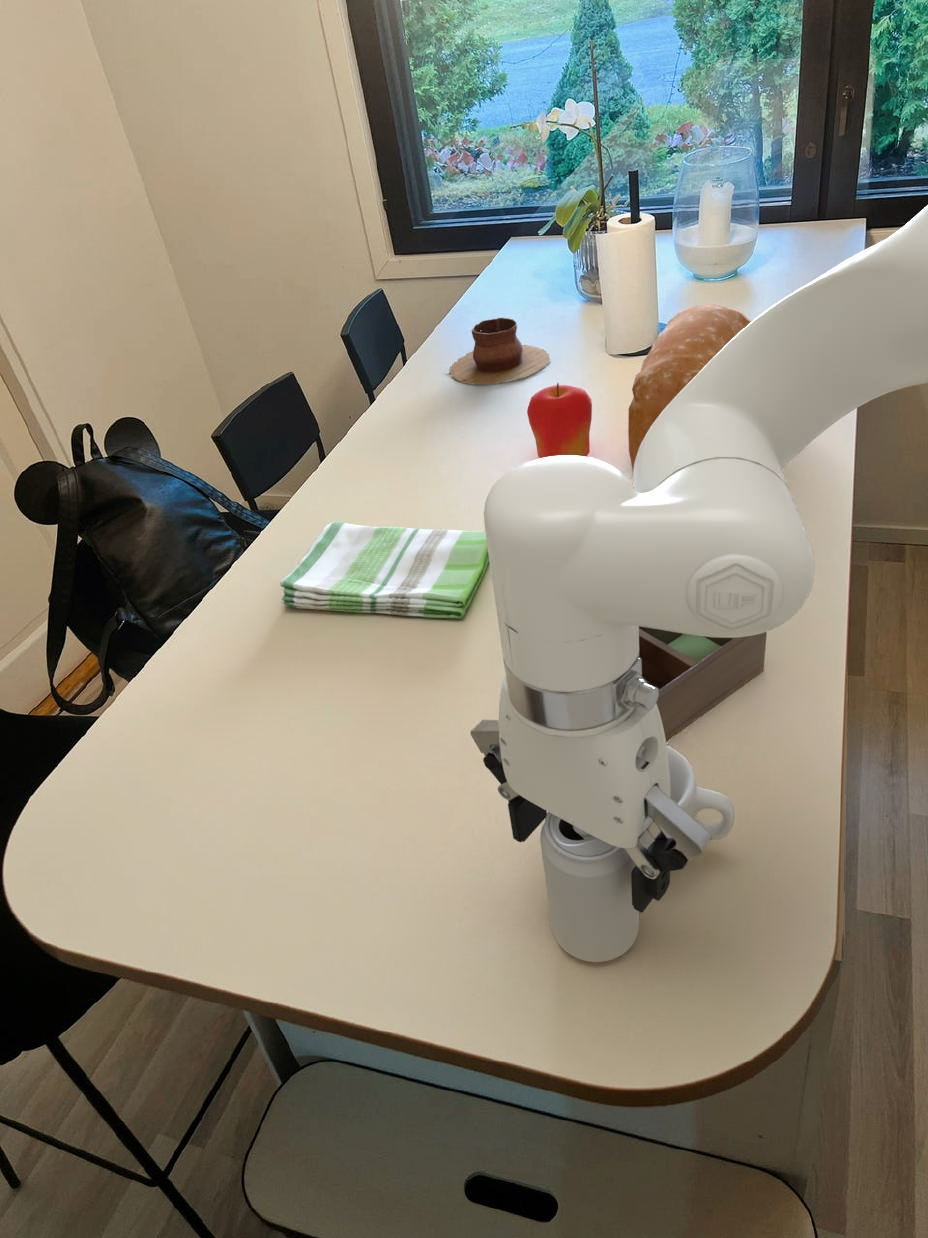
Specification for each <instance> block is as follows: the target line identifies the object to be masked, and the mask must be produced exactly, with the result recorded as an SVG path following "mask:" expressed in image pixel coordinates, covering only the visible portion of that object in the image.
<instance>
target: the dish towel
mask: <svg viewBox="0 0 928 1238" xmlns="http://www.w3.org/2000/svg"><path fill="white" fill-rule="evenodd" d="M489 563H490V562H489V555H488V548H487V541H486V534H485V530H484V531H482V530H456V529H441V528H440V529H425V528H410V527H398V526H369V525H362V524H361V525H360V524H350V523H347V522H342V521H333V522H330V523H327V524H326V525H325V526H324V527H323V528H322V529H321V531H320V532H319V534H318V536H317V537H316V538H315V540H314V542H313V543H312V544H311V546H310V547H309V549H308V550H307V552H306V553H305V554H304V556H303V557H302V558H301V559H300V561H299V562H298V563H297V564H296V565H295V567H294V568H293V569H292V570H291V571H290V572H289V574H287V575H286V576H284V577H283V579H281V580H280V581H279V584H280V587H282V588H283V589H282V592H283V596H282V597H281V605H283V606H284V607H288V608H293V609H307V610H308V609H309V610H318V611H319V610H323V611H332V612H347V613H359V614H360V613H361V614H363V613H369V614H371V613H373V614H385V615H393V616H403V617H404V616H405V617H406V616H407V617H423V618H432V619H433V618H434V619H435V618H436V619H461V618H463V617H464V616H465V614H466V611H467V609H468V608H469V606H470V605H471V603H472V601H473V598H474V595H475V593H476V591H477V589H478V587H479V585H480V584H481V582H482V580H483V578H484V577H483V576H484V575H485V572H486V570H487V567H488V564H489Z"/></svg>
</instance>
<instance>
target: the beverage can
mask: <svg viewBox="0 0 928 1238" xmlns="http://www.w3.org/2000/svg"><path fill="white" fill-rule="evenodd" d="M539 838H540V839H539V841H540V848H541V849H540V850H541V857H542V863H543V871H544V879H545V886H546V893H547V901H548V907H549V915H550V923H551V930H552V933H553V936H554V938H555V941H556V942H557V943H558V945H559V946H560V947H561V948H562V949H563V950H564V952H566V953H567V954H569V955H570V956H572V957H574V958H576V959H578V960H580V961H584V962H590V963H603V962H604V963H605V962H608V961H612V960H616V959H617V958H619V957H621V956H622V955H624V954H625V953H627V952H628V951H629V950H630V949H631V947H633V944H634V943H635V941H636V940H637V938H638V935H639V932H640V912H639V911H637V910H635V909H634V906H633V905H632V886H631V872H632V870H633V868H634V867H635V866H636V864H635V863H634V862H633V860H632V859H631V857H630V856H629V855H628V853H627V852H626V851H625V849H624V848H620V847H616V846H613V845H611V844H608V843H606V842H604V841H602V840H600V839H598V838H596V837H594V836H592V835H591V834H589V833H587V832H585V831H583V830H581V829H579V828H577V827H576V826H574V825H572V824H570V823H568V822H566V821H564V820H563V819H561V818H559V817H557V816H555V815H553V814H552V813H550V812H548V811H547V815H546V818H545V819H544V822H543V823H542V826H541V830H540V836H539Z"/></svg>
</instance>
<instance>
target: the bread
mask: <svg viewBox="0 0 928 1238" xmlns="http://www.w3.org/2000/svg"><path fill="white" fill-rule="evenodd" d="M751 322H752V321H751V320H750V319H749V318H748V317H747V315H745V314H744V313H743V312H741V310H738V309H735V308H732V307H728V306H723V305H720V304H702V305H695V306H692V307H688V308H686V309H683V310H680V311H679V312H678V313H676V314H675V316H673V317H672V318H670V319H669V320H668V322H667V324H666V325H665V328H664V329H662V331H660V333H659V334H658V336H657V338H656V339H655V340H654V341H653V343H652V346H651V348H650V350H649V352H648V353H647V354H646V356H645V358H644V359H643V361H642V364H641V368H640V371H639V372H638V373H637V374H635V377H634V381H633V384H632V389H631V391H632V395H633V398H632V400H631V402H630V405H629V406H628V422H627V423H628V425H627V426H628V433H627V435H628V453H629V459H630V464H631V470H632V471H633V470H634V463H635V459H636V456H637V453H638V450H639V447H640V445H641V443H642V441H643V439H644V437H645V436H646V434H647V432H648V430H649V429H650V427H651V426H652V424H653V423H654V422H655V420H656V419H657V418H658V416H659V415H660V414H661V412H662V411H663V410H664V409H665V408H666V407H667V405H668V404H669V403H670V402H671V401H672V400H673V399H674V398H675V397H676V396H677V395H678V393H679V392H680V391H681V390H682V389H683V388H684V387H685V386H686V385H687V384H688V383H689V382H690V381H691V380H692V379H693V378H694V377H695V376H696V375H697V374H698V373H699V372H700V371H701V370H702V369H703V368H704V367H705V366H706V365H707V364H708V363H709V362H710V361H711V359H712V358H713V357H714V356H715V355H716V354H717V353H718V352H719V351H720V350H721V349H722V348H723V347H724V346H726V345H727V344H728V343H729V342H730V341H731V340H732V339H733V338H734V337H735V336H736V335H737V334H738V333H739V332H740V331H742V330H743V329H744V328H745V327H746V326H748V325H749V324H750V323H751Z"/></svg>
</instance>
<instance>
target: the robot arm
mask: <svg viewBox="0 0 928 1238" xmlns="http://www.w3.org/2000/svg"><path fill="white" fill-rule="evenodd" d="M924 384H928V204H927V205H926V206H925V207H924V208H923V209H922V210H920V211H919V212H918V213H917V214H916V215H915V216H914V217H913V218H911V219H910V220H909V221H908V222H907V223H906V224H905V225H903V226H902V227H900V229H898V230H897V231H896V232H894V233H893V234H892V235H890V236H889V237H887V238H886V239H883V240H880V241H879V242H877V243H876V244H874V245H872V246H870V247H868V248H866V249H864V250H862V251H860V252H859V253H857V254H855V255H853V256H852V257H850V258H847V259H845V260H844V261H843V262H841V263H839V264H838V265H837V266H835V267H833V268H832V269H830V270H828V271H827V272H826V273H824V274H822V275H820V276H818V277H817V278H816V279H814V280H812V281H810V282H809V283H807V284H806V285H804V286H802V287H800V288H798V289H797V290H795V291H794V292H792V293H791V294H789V295H787V296H786V297H784V298H783V299H781V300H779V301H778V302H777V303H774V304H773V305H772V306H771V307H769V308H768V309H766V310H765V311H763V312H762V313H761V314H760V315H758V316H757V317H756V318H754V319H753V320H752V321H751V323H750V324H749V325H748V326H746V327H745V328H744V329H743V330H742V331H740V332H739V333H738V334H737V335H736V336H735V337H734V338H733V339H732V340H731V341H730V342H729V343H728V344H727V345H726V346H724V347H723V348H722V349H721V350H720V351H719V352H718V353H717V354H716V355H715V356H714V357H713V358H712V359H711V361H710V362H709V363H708V364H707V365H706V366H705V367H704V368H703V369H702V370H701V371H700V372H699V373H698V374H697V375H696V376H695V377H694V378H693V379H692V380H691V381H690V382H689V383H688V384H687V385H686V386H685V387H684V388H683V389H682V390H681V391H680V392H679V393H678V395H677V396H676V397H675V398H674V399H673V400H672V401H671V402H670V403H669V404H668V405H667V407H666V408H665V409H664V410H663V411H662V412H661V414H660V415H659V416H658V418H657V419H656V420H655V422H654V423H653V424H652V426H651V427H650V429H649V430H648V432H647V434H646V436H645V437H644V439H643V441H642V443H641V445H640V447H639V450H638V453H637V456H636V459H635V463H634V470H632V482H633V483H632V484H631V483H630V482H629V480H628V479H627V478H626V477H625V475H624V474H623V473H622V472H621V471H620V470H619V469H618V468H616V467H615V466H613V465H611V464H610V463H607V462H606V461H602V460H600V459H597V458H594V457H591V456H586V457H584V456H573V455H561V456H550V457H545V458H539V457H538V458H537V459H532V460H529V461H527V462H523V463H521V464H519V465H516V466H515V467H514V468H512V469H510V470H509V471H506V473H503V475H501V476H500V477H499V478H498V479H497V480H496V482H494V483H493V485H492V487H491V488H490V489H489V491H488V494H487V496H486V499H485V503H484V510H483V522H484V523H483V524H484V532H485V534H486V541H487V548H488V555H489V562H488V563H489V568H490V575H491V581H492V589H493V595H494V601H495V602H494V603H495V608H496V616H497V623H498V630H499V638H500V646H501V653H502V660H503V666H504V667H503V669H504V673H505V674H504V677H503V680H502V683H501V688H500V694H499V703H498V719H482V720H481V721H479V722H478V723H477V724H476V725H475V726H474V727H473V728H472V729H471V730H470V732H469V733H470V736H471V738H472V739H473V741H474V743H475V745H476V747H477V748H478V750H479V752H480V753H481V754H483V755H484V757H483V758H482V762H483V764H484V766H485V767H486V769H487V770H488V771H489V772H490V773H491V774H492V776H493V777H494V778H495V779H496V780H497V781H498V783H499V784H500V785H498V787H497V792H498V794H499V795H500V796H501V797H502V798H503V799H504V800H506V801H508V803H507V809H508V813H509V820H510V826H511V832H512V839H513V840H515V841H516V842H518V843H524V842H525V841H527V839H528V838H529V837H530V836H531V835H532V834H533V833H534V832H535V830H536V829H537V828H538V827H539V826H540V824H542V823H543V822H544V821H545V818H546V815H547V813H548V812H550V813H552V814H553V815H555V816H557V817H559V818H561V819H563V820H564V821H566V822H568V823H570V824H572V825H574V826H576V827H577V828H579V829H581V830H583V831H585V832H587V833H589V834H591V835H592V836H594V837H596V838H598V839H600V840H602V841H604V842H606V843H608V844H611V845H613V846H616V847H620V848H624V849H625V851H626V852H627V853H628V855H629V856H630V857H631V859H632V860H633V862H634V863H635V864H636V866H635V867H634V868H633V870H632V872H631V886H632V905H633V906H634V909H635V910H637V911H639V914H642V913H644V911H645V910H646V909H647V908H648V906H649V905H650V903H651V902H652V901H653V900H656V901H657V902H659V901H661V899H662V898H663V897H664V896H665V894H666V893H667V891H668V889H669V887H670V882H671V872H674V871H681V870H684V868H685V867H686V865H687V864H689V863H691V862H693V861H694V860H695V859H696V858H698V857H699V856H700V855H702V853H703V852H704V850H705V849H706V848H707V847H708V846H709V844H710V842H711V841H712V840H711V839H712V835H711V833H710V832H709V831H708V830H707V829H706V828H705V827H703V826H702V825H701V824H700V823H699V822H698V821H697V820H695V819H694V818H693V817H692V816H691V815H690V814H689V813H687V812H686V811H685V810H684V809H683V808H682V807H680V806H679V805H678V804H677V803H676V802H675V801H674V800H672V799H671V798H670V773H669V761H668V752H667V746H668V745H667V741H666V739H665V734H664V729H663V724H662V720H661V717H660V713H659V710H658V706H657V704H656V702H657V700H658V696H659V689H658V688H656V687H654V686H652V685H649V684H648V682H647V681H646V680H644V678H643V677H642V659H641V658H640V656H639V626H641V627H647V628H653V629H660V630H665V631H671V632H677V633H683V634H690V635H697V636H705V637H720V638H736V637H745V636H752V635H757V634H761V633H764V632H767V633H768V632H769V631H772V630H774V629H777V628H779V627H781V626H782V625H784V624H785V623H787V622H788V621H790V620H791V619H793V617H794V616H795V615H797V613H798V612H799V611H800V610H802V608H803V606H804V605H805V604H806V602H807V600H808V598H809V596H810V594H811V591H812V589H813V585H814V581H815V571H816V569H815V567H816V563H815V555H814V552H813V547H812V544H811V539H810V537H809V534H808V532H807V530H806V529H807V528H806V527H805V524H804V522H803V519H802V517H801V515H800V512H799V510H798V507H797V504H796V502H795V500H794V498H793V495H792V493H791V490H790V487H789V485H788V483H787V479H786V478H785V475H784V473H783V468H784V467H785V466H786V465H788V464H789V463H790V462H791V461H792V460H793V459H794V458H795V457H796V456H797V455H799V454H800V453H801V452H802V451H803V450H804V449H806V448H807V446H809V445H810V444H811V443H812V442H813V441H814V440H815V439H817V438H818V437H819V436H820V435H822V434H823V433H824V432H825V431H826V430H828V429H829V428H830V427H831V426H833V425H835V424H836V423H837V422H838V421H839V420H841V419H842V418H844V417H846V415H848V414H849V413H851V412H853V411H854V410H856V409H858V408H860V407H862V406H863V405H865V404H867V403H869V402H871V401H872V400H875V399H877V398H879V397H881V396H884V395H886V394H888V393H892V392H895V391H898V390H902V389H906V388H909V387H914V386H919V385H924ZM632 485H633V487H632ZM646 830H647V831H648V832H649V834H650V835H651V836H652V838H653V839H654V840H655V841H653V842H652V843H651V845H650V846H649V847H648V849H646V848H645V846H644V845H643V844H642V842H641V841H640V840H639V839H640V838H641V836H642V835H643V834H644V833H645V831H646Z"/></svg>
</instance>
